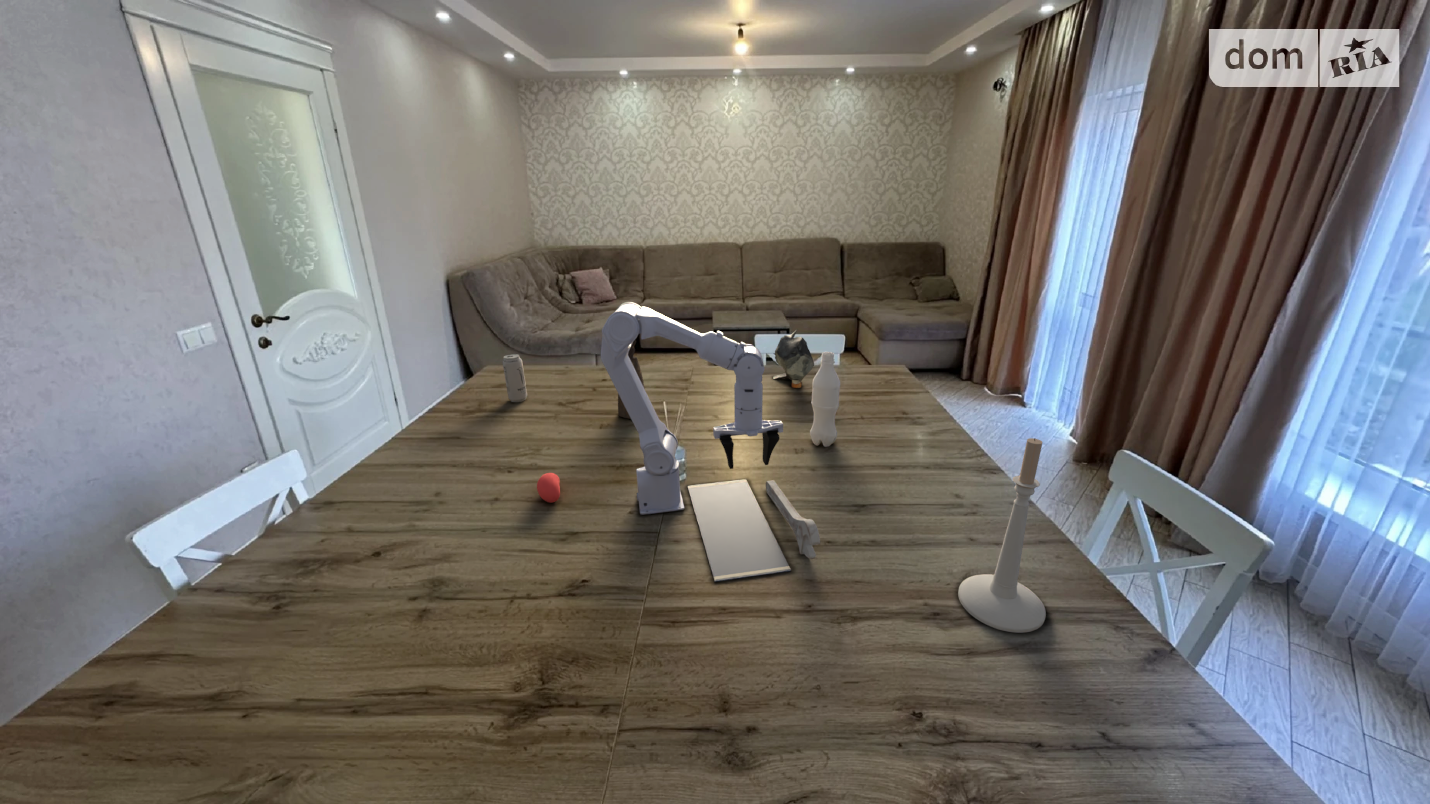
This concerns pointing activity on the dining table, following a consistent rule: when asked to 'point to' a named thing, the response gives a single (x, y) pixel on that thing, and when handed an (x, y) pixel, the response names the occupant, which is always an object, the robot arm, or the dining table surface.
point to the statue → (634, 360)
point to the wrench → (795, 521)
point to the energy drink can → (514, 378)
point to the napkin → (735, 531)
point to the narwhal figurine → (793, 359)
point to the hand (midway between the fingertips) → (748, 464)
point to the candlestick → (1009, 566)
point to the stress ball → (549, 487)
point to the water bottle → (825, 401)
